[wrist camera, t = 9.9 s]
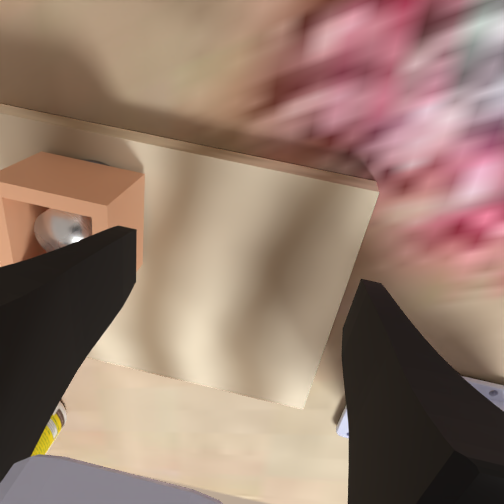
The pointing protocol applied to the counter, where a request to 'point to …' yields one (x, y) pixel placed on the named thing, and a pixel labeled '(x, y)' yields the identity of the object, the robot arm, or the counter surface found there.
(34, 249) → the orange hollow cube
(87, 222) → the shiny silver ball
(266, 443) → the counter surface
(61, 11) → the counter surface
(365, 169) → the counter surface
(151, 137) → the beige base plate
